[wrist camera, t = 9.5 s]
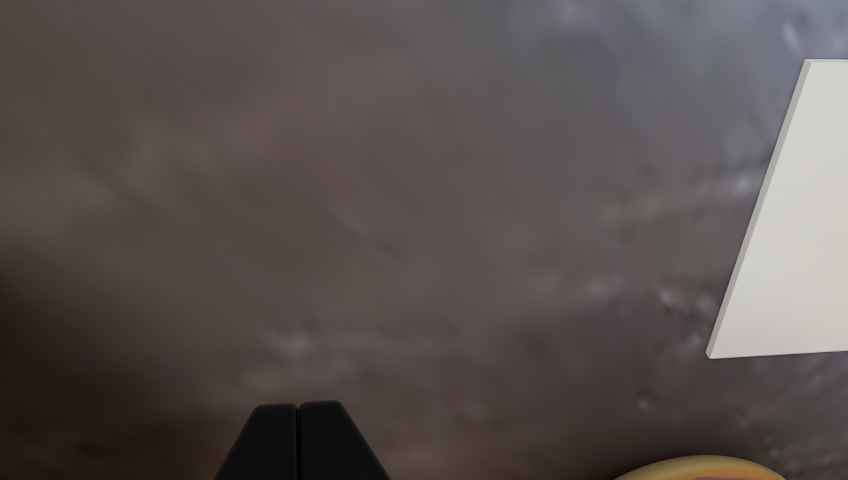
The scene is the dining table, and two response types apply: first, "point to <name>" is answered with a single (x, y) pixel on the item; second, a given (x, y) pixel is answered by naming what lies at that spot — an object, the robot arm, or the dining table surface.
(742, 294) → the white paper sheet
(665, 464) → the doughnut
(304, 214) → the dining table surface
